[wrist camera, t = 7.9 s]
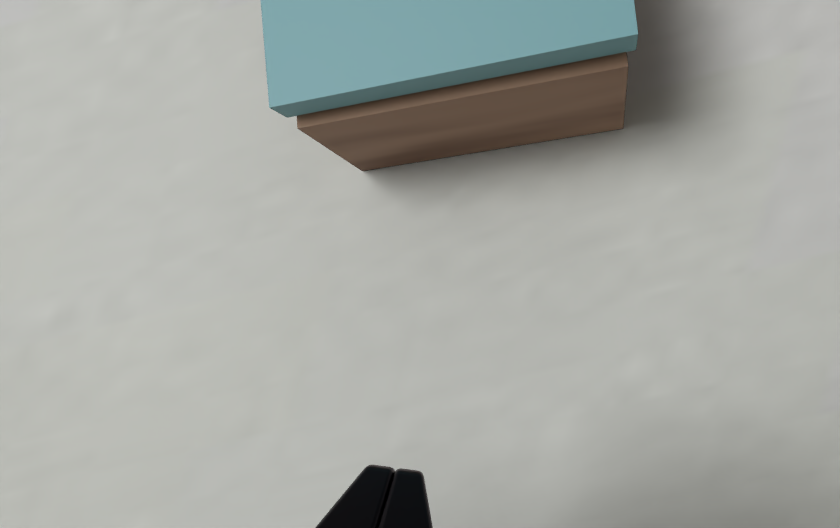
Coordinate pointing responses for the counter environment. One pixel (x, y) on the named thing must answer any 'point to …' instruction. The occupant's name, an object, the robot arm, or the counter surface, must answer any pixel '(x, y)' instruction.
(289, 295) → the counter surface
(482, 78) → the lid
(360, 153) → the case
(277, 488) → the counter surface
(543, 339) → the counter surface
